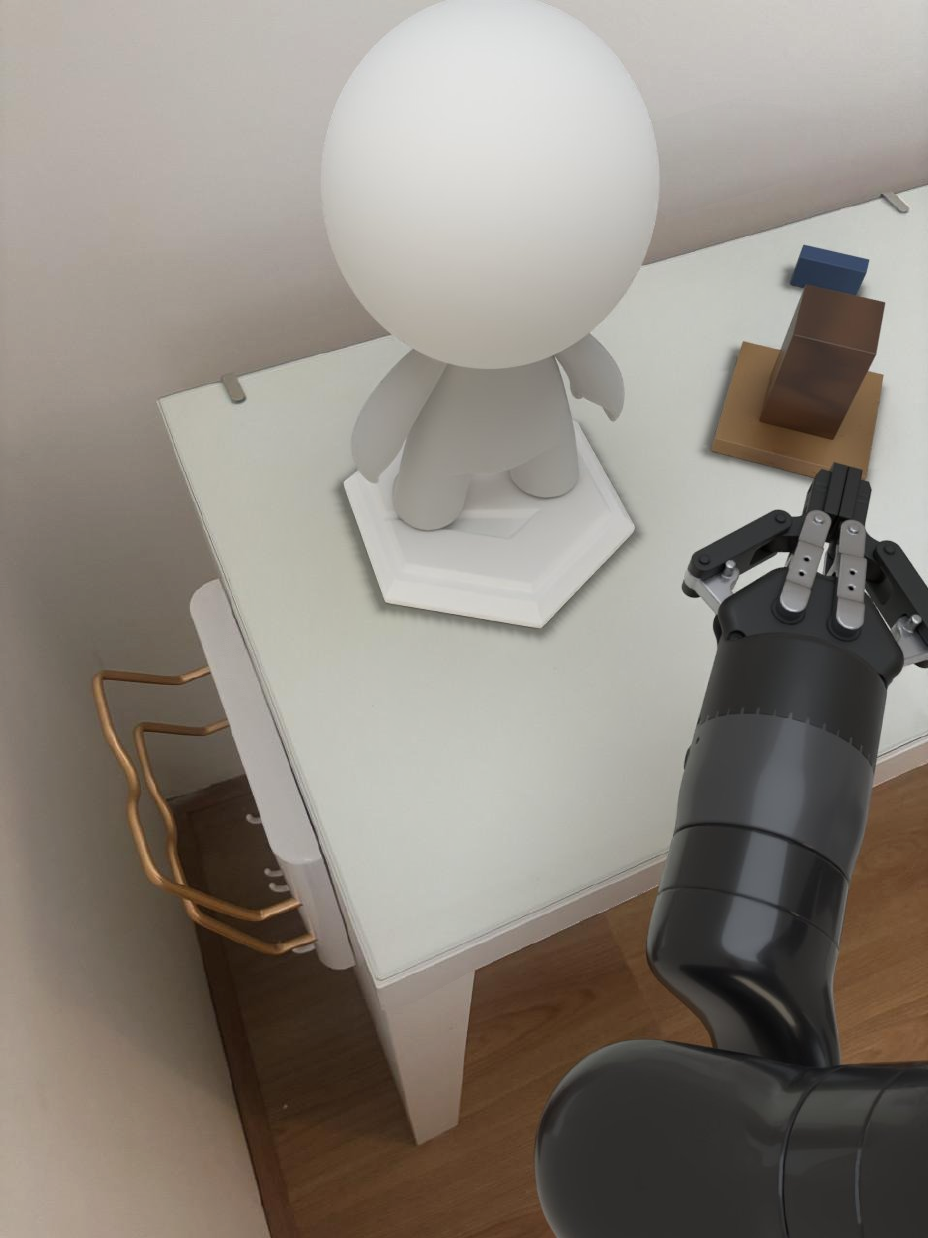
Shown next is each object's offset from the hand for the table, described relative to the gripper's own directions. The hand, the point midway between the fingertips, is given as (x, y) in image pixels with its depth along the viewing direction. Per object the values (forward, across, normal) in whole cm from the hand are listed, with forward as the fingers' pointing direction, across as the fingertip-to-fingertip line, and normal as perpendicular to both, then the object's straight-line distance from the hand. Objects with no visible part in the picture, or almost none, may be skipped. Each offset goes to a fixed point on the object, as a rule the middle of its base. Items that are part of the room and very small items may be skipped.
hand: (841, 475), depth 48 cm
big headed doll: (+6, +22, +20) cm, 30 cm away
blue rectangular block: (+42, +1, +20) cm, 47 cm away
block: (+24, +1, +20) cm, 31 cm away
